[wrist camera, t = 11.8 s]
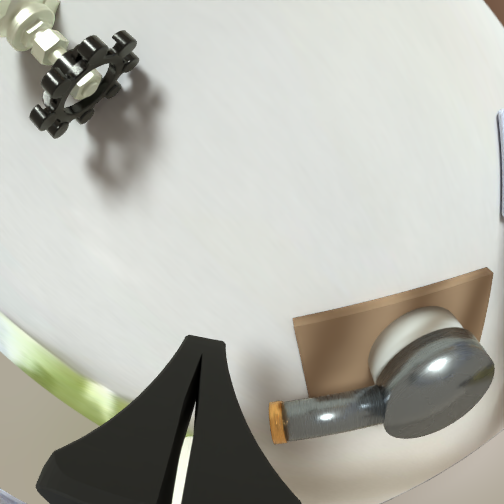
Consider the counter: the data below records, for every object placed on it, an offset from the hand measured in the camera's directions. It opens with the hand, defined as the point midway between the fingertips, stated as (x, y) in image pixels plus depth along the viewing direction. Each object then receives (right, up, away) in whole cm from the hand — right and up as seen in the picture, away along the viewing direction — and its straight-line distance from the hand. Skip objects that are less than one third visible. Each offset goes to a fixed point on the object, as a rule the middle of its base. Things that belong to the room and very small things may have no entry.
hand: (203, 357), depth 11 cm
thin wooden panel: (+14, -5, +12) cm, 19 cm away
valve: (-10, +17, +3) cm, 20 cm away
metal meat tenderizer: (+11, -6, +8) cm, 15 cm away
